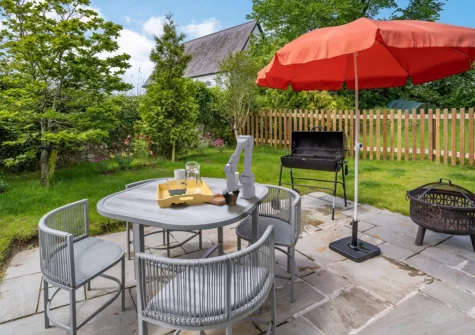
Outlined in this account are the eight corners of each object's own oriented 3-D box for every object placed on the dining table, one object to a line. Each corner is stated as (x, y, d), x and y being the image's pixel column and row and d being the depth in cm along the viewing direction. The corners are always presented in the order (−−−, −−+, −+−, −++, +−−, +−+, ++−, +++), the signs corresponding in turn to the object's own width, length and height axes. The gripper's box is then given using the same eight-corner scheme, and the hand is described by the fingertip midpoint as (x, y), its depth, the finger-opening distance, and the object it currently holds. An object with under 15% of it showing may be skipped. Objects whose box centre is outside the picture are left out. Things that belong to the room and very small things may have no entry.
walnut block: (230, 203, 199) (230, 193, 198) (236, 204, 196) (236, 194, 195) (226, 205, 196) (226, 194, 195) (232, 206, 193) (232, 195, 192)
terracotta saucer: (218, 196, 216) (218, 193, 216) (234, 200, 207) (234, 196, 207) (203, 201, 205) (203, 198, 204) (219, 205, 196) (219, 201, 195)
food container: (168, 205, 198) (167, 190, 197) (169, 202, 204) (168, 188, 203) (187, 204, 201) (186, 189, 199) (187, 201, 207) (186, 187, 205)
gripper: (228, 185, 186) (228, 206, 188) (242, 180, 197) (243, 200, 199) (219, 183, 190) (220, 204, 192) (234, 179, 201) (234, 199, 204)
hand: (231, 202), depth 196 cm, fingers open, 7 cm apart
